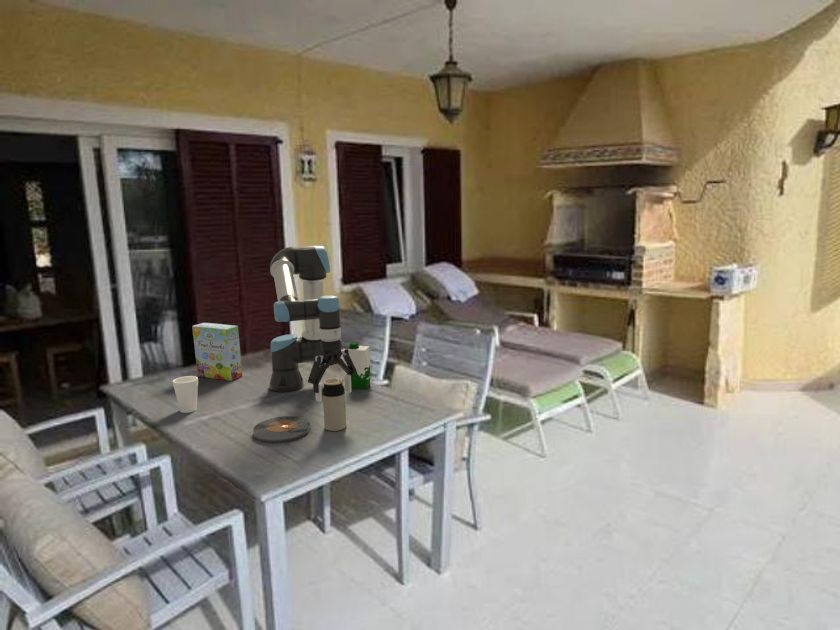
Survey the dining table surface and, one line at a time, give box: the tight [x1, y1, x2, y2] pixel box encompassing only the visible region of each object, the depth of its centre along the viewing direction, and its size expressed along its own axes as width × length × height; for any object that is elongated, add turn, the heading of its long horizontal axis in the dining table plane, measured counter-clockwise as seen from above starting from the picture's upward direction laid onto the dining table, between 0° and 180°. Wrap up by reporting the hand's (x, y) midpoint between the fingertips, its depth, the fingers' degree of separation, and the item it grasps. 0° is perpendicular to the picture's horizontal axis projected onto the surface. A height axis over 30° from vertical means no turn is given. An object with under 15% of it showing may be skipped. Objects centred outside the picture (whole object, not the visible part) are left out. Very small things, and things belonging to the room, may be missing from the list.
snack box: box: [191, 322, 243, 382], centre depth 270 cm, size 22×9×26 cm, turn 67°
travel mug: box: [321, 377, 347, 432], centre depth 205 cm, size 8×8×18 cm
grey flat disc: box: [252, 415, 311, 444], centre depth 204 cm, size 20×20×2 cm
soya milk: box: [347, 342, 371, 390], centre depth 251 cm, size 9×9×20 cm
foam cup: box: [172, 375, 199, 414], centre depth 227 cm, size 10×9×13 cm
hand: (333, 396), depth 204 cm, fingers open, 13 cm apart
